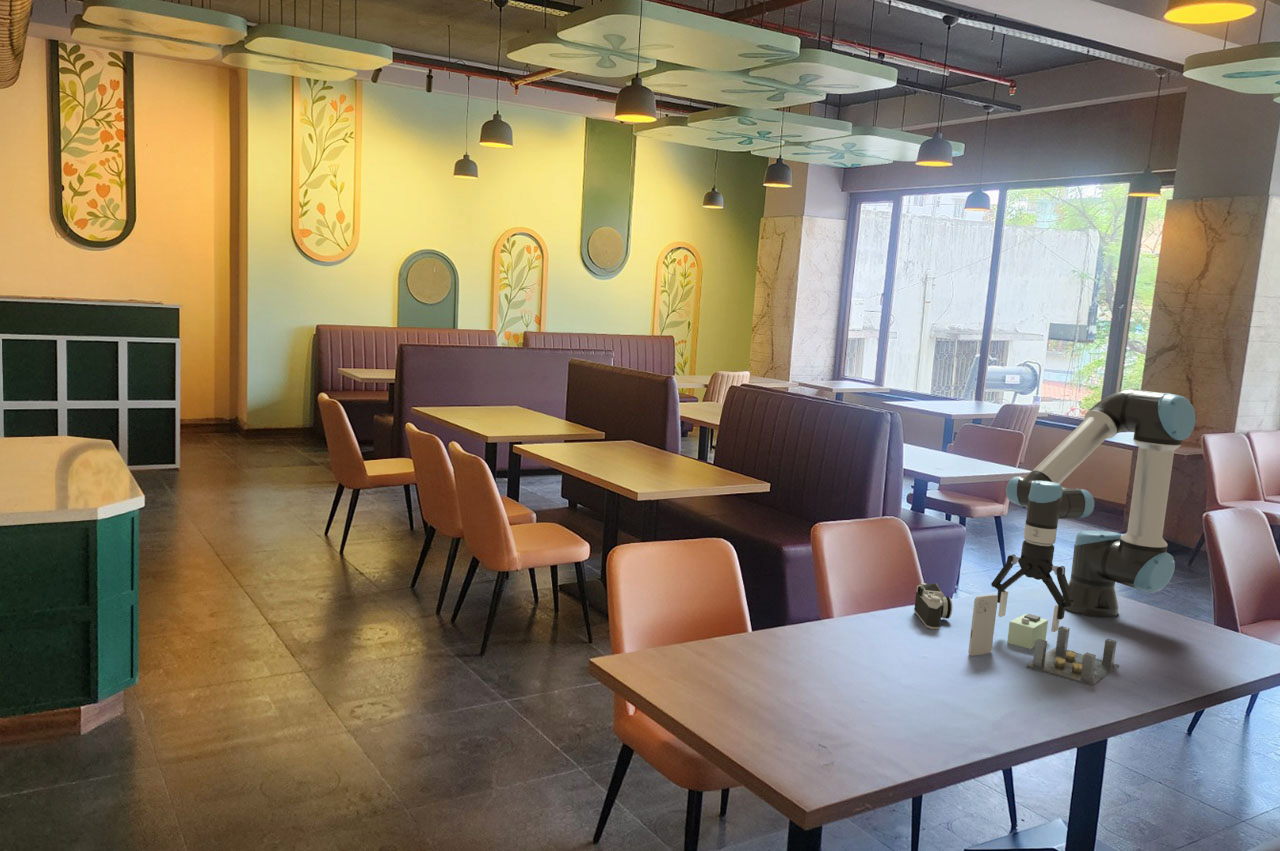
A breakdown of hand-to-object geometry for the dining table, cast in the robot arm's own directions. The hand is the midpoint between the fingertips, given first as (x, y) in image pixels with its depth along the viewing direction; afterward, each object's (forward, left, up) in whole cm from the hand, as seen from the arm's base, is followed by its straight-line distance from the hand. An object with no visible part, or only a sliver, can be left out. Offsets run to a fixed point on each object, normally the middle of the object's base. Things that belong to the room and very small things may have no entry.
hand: (1027, 623), depth 251 cm
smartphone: (+19, -4, -5) cm, 20 cm away
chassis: (+10, +15, -5) cm, 19 cm away
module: (0, 0, -5) cm, 5 cm away
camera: (+3, -24, -6) cm, 25 cm away
